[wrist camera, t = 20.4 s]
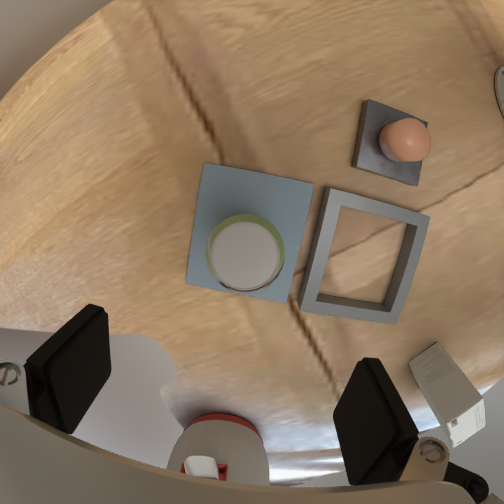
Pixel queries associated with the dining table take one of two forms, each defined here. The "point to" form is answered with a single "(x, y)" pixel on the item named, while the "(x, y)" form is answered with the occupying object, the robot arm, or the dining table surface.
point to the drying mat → (249, 202)
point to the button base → (369, 148)
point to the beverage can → (245, 253)
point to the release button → (405, 140)
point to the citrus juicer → (221, 451)
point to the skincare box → (449, 394)
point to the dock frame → (321, 248)
